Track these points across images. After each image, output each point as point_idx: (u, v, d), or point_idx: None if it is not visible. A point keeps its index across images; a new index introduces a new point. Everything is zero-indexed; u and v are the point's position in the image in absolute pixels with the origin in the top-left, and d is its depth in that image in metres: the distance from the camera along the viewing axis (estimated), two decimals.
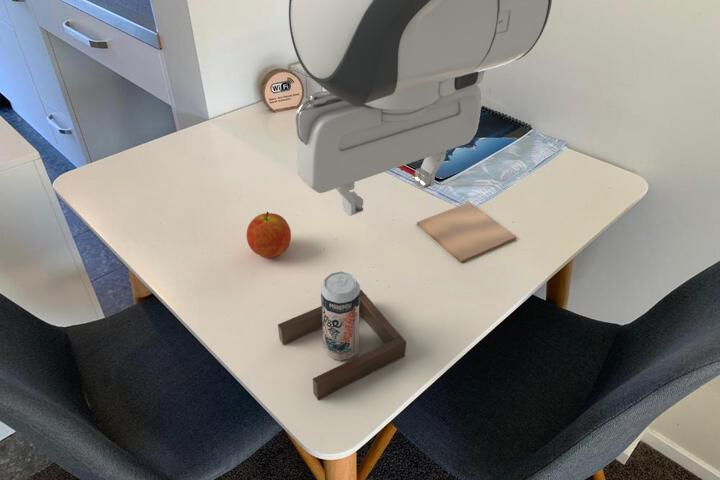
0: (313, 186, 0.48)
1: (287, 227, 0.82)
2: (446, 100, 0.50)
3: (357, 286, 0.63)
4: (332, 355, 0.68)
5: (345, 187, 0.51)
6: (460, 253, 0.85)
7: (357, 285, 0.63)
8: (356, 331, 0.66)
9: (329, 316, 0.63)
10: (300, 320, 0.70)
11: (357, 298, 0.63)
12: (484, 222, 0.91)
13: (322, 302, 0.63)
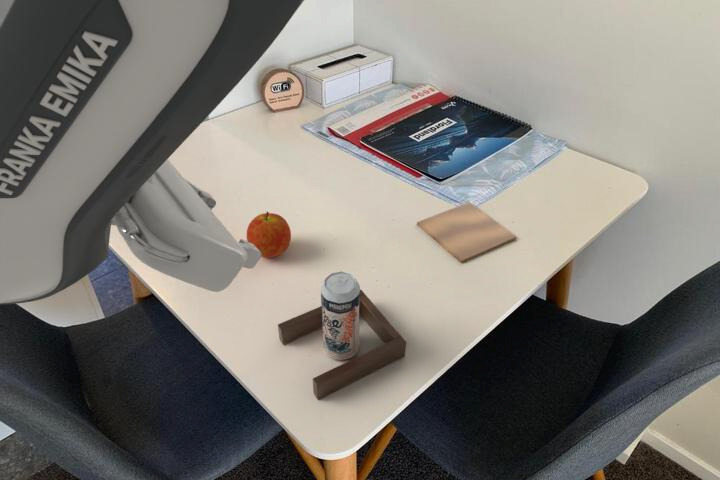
0: (242, 257, 0.38)
1: (287, 227, 0.82)
2: None
3: (357, 286, 0.63)
4: (332, 355, 0.68)
5: None
6: (460, 253, 0.85)
7: (357, 285, 0.63)
8: (356, 331, 0.66)
9: (329, 316, 0.63)
10: (300, 320, 0.70)
11: (357, 298, 0.63)
12: (484, 222, 0.91)
13: (322, 302, 0.63)
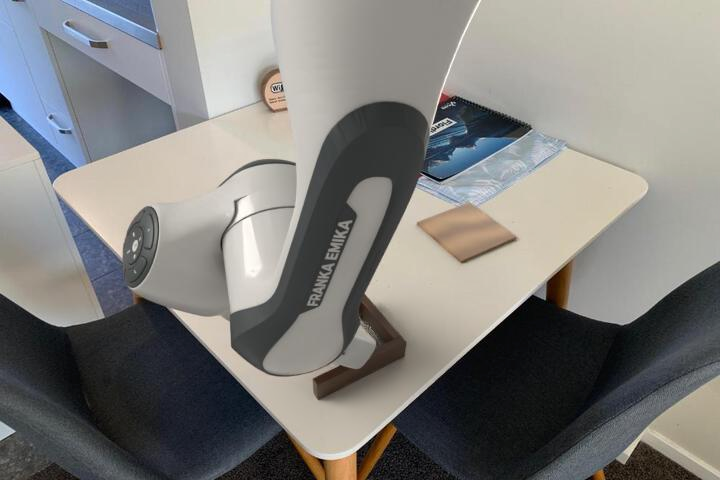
0: (375, 345, 0.55)
1: None
2: None
3: None
4: None
5: None
6: (460, 253, 0.85)
7: None
8: None
9: None
10: None
11: None
12: (484, 222, 0.91)
13: None
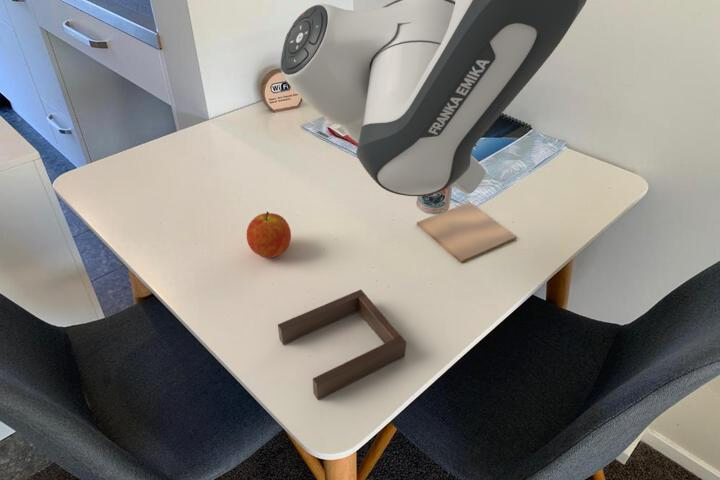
0: None
1: (287, 227, 0.82)
2: None
3: None
4: (426, 210, 0.73)
5: None
6: (460, 253, 0.85)
7: None
8: None
9: None
10: (300, 320, 0.70)
11: None
12: (484, 222, 0.91)
13: None
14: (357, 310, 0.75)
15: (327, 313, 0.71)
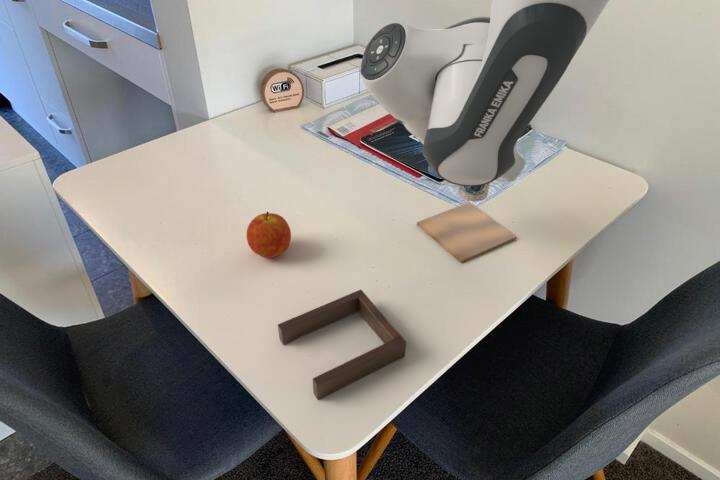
0: (525, 162, 0.71)
1: (287, 227, 0.82)
2: None
3: None
4: (468, 197, 0.83)
5: None
6: (460, 253, 0.85)
7: None
8: None
9: None
10: (300, 320, 0.70)
11: None
12: (484, 222, 0.91)
13: None
14: (357, 310, 0.75)
15: (327, 313, 0.71)
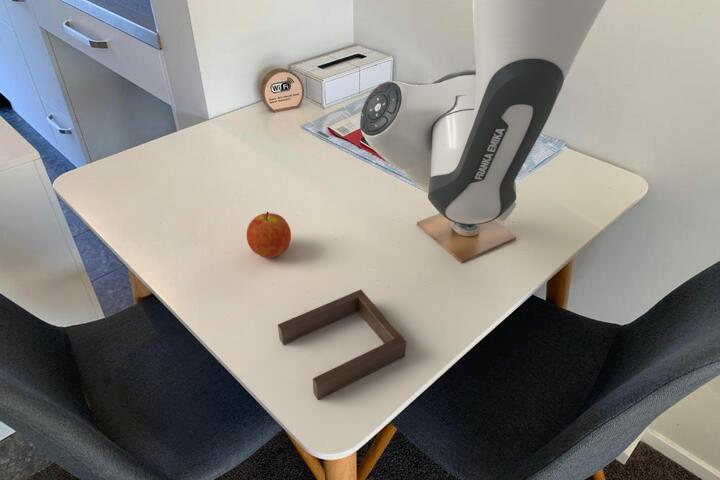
0: (515, 203, 0.75)
1: (287, 227, 0.82)
2: None
3: None
4: (462, 232, 0.87)
5: None
6: (460, 253, 0.85)
7: None
8: None
9: None
10: (300, 320, 0.70)
11: None
12: None
13: None
14: (357, 310, 0.75)
15: (327, 313, 0.71)
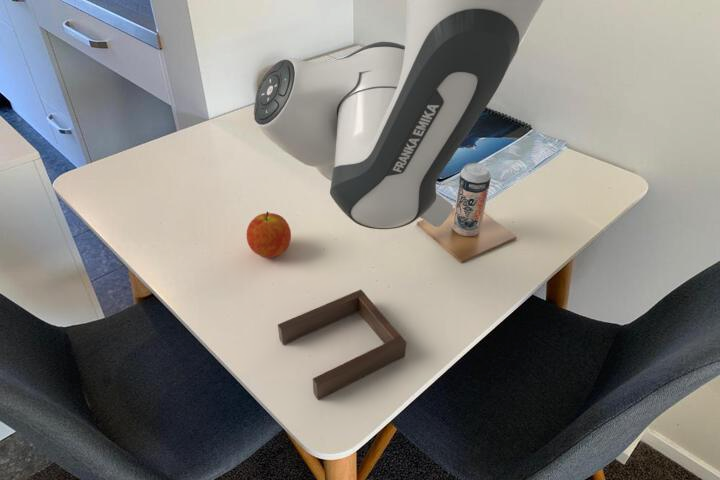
0: (452, 206, 0.64)
1: (287, 227, 0.82)
2: None
3: (489, 172, 0.82)
4: (462, 232, 0.87)
5: None
6: (460, 253, 0.85)
7: None
8: (483, 211, 0.86)
9: (466, 196, 0.83)
10: (300, 320, 0.70)
11: (489, 181, 0.82)
12: (484, 222, 0.91)
13: (461, 185, 0.83)
14: (357, 310, 0.75)
15: (327, 313, 0.71)
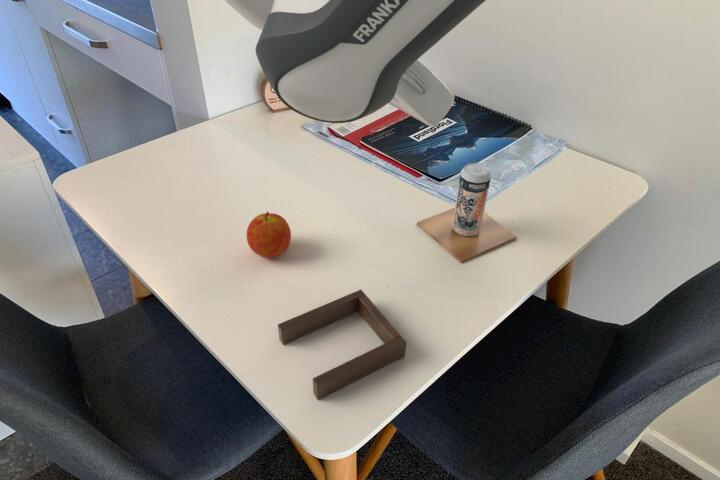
0: (453, 98, 0.50)
1: (287, 227, 0.82)
2: None
3: (489, 172, 0.82)
4: (462, 232, 0.87)
5: None
6: (460, 253, 0.85)
7: None
8: (483, 211, 0.86)
9: (466, 196, 0.83)
10: (300, 320, 0.70)
11: (489, 181, 0.82)
12: (484, 222, 0.91)
13: (461, 185, 0.83)
14: (357, 310, 0.75)
15: (327, 313, 0.71)
